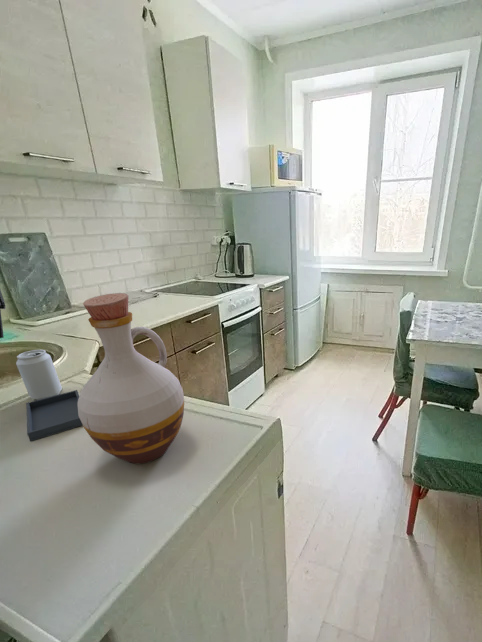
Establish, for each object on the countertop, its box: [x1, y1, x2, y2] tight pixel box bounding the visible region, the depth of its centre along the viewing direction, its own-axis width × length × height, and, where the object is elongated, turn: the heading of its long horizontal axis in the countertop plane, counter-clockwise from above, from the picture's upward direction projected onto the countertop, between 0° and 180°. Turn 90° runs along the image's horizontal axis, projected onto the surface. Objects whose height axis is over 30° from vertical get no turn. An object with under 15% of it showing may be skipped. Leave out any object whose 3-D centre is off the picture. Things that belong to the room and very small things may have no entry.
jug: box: [78, 292, 185, 465], centre depth 64 cm, size 20×18×30 cm
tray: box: [25, 389, 83, 442], centre depth 83 cm, size 17×11×2 cm, turn 35°
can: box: [15, 349, 63, 401], centre depth 92 cm, size 8×8×12 cm
